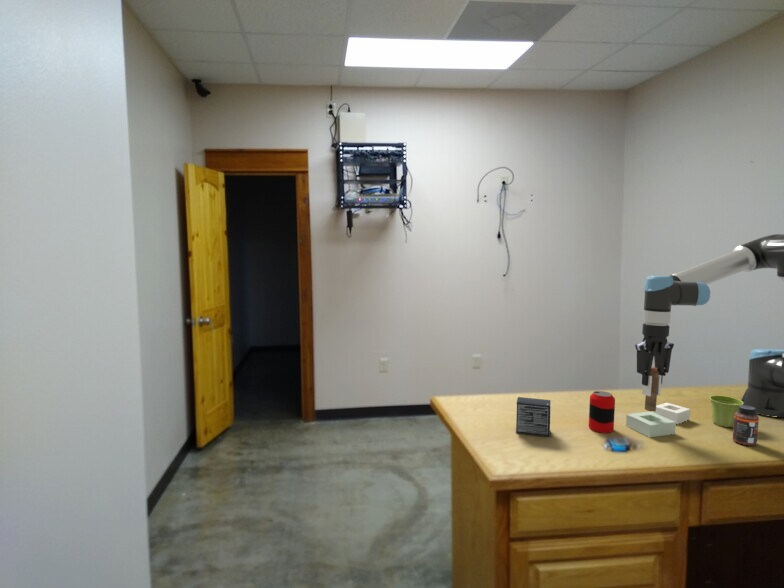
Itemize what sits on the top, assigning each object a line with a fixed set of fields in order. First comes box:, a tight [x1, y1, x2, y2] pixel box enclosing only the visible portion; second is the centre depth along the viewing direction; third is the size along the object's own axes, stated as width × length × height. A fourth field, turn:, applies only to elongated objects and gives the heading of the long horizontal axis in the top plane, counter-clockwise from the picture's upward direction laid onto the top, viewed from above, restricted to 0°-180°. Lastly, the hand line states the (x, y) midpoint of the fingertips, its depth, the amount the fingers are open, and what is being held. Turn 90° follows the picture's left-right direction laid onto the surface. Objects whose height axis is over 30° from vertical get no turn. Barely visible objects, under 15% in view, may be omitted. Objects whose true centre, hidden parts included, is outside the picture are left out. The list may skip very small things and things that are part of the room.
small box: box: [515, 396, 552, 438], centre depth 151 cm, size 11×6×10 cm, turn 71°
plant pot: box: [709, 394, 743, 428], centre depth 157 cm, size 9×9×9 cm
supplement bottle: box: [732, 405, 760, 447], centre depth 143 cm, size 6×6×11 cm
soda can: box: [588, 390, 616, 434], centre depth 153 cm, size 8×8×12 cm
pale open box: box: [625, 411, 677, 438], centre depth 153 cm, size 10×10×4 cm
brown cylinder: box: [644, 366, 659, 412], centre depth 152 cm, size 3×3×14 cm
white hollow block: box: [653, 402, 691, 425], centre depth 163 cm, size 8×8×4 cm
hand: (651, 394), depth 152 cm, fingers closed on brown cylinder, 3 cm apart
